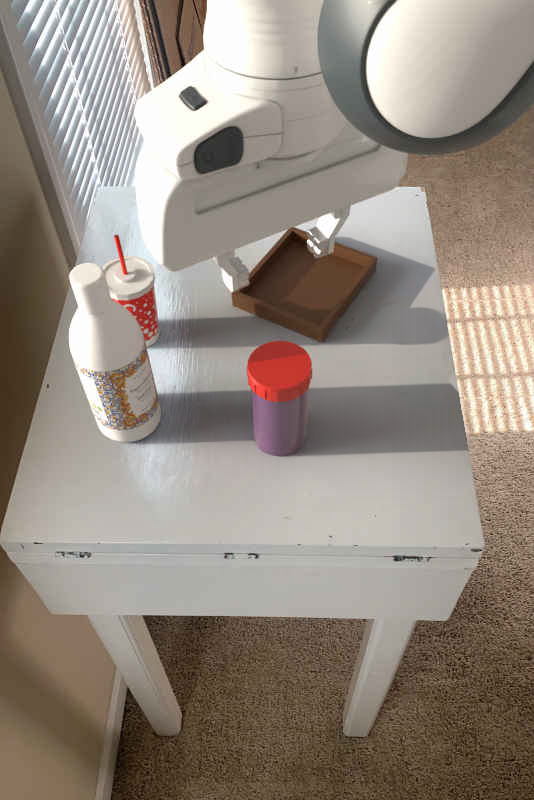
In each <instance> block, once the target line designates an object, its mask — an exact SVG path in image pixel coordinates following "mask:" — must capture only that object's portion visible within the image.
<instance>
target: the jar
mask: <svg viewBox="0 0 534 800" xmlns="http://www.w3.org/2000/svg"><path fill="white" fill-rule="evenodd" d="M250 401H251V416H252V417H251V418H252V431H253V432H252V434H253V435H252V436H253V441H254V443H255V445H256V446H257V448H258V449H260V451H262V452H263V453H265V454H267V455H270V456H274V457H286V456H290V455H293V454H294V453H296V452H297V451H299V450H300V449H301V448H302V447H303V446H304V444H305V442H306V439H307V428H308V427H307V424H308V409H309V408H308V406H309V388H308V389H307V390H306V391H305V392H304V393H303V394H302V396H299V397H298V398H296V399H293V400H291V401H286V402H273V401H269V400H265V399H263V398H261V397H260V396H258V395H257V394H255V393H254V391H253V390H252V389H251V388H250Z"/></svg>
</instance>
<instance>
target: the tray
mask: <svg viewBox="0 0 534 800" xmlns="http://www.w3.org/2000/svg"><path fill="white" fill-rule="evenodd" d="M308 239H309V238H308V237H307V231H306V230H303V229H300V228H298V227H296V226H295V227H293V228H290V229H287V230H285V232H284V233H283V234H282V235H281V237H280V238H279V239H278V240H277V241H276V242H275V243H274V244H273V245H272V247H271V248H270V249H269V250H268V252H267V253H266V254H265V255H264V256H263V257H262V258H261V259H260V261H259V262H258V263H257V264H256V265H255V266H254V267H253V268H252V269H251V270H250V271H249V278H248V280H249V286H247V287H244V288H242V289H239V290H237V291H234V292H230V293H231V304H232V305H231V306H232V307H235V308H236V309H240V310H242V311H244V312H247V313H249V314H252V315H254V316H256V317H258V318H262V319H264V320H266V321H268V322H271V323H273V324H275V325H278V326H281V327H283V328H286V329H289V330H290V331H293V332H295V333H297V334H299V335H303V336H304V337H307V338H310V339H312V340H314V341H316V342H319V343H320V344H321V343H323V342H324V341H325V339H326V338H327V337H328V335H330V333H331V332H332V330H333V328H334V327H335V326H336V325H337V323H338V322H339V321H340V319H341V318H342V316H343V315H344V313H346V311H347V310H348V308H350V306H351V304H352V303H353V301H354V300H355V299H356V298H357V296H358V295H359V293H360V292H361V291H362V290H363V288H364V287H365V286H366V284H367V283H368V282H369V280H370V279H371V277H372V276H373V275H374V273H375V272H376V270H377V265H378V257H377V256H374V255H372V254H369V253H366V252H364V251H361V250H358V249H355V248H352V247H351V246H348V245H345V244H342V243H339V242H336V241H334V251H333V253H330V254H328V255H325V256H323V257H320V258H315V257H314V254H313V253H310V251H309V250H308V247H307V241H308Z"/></svg>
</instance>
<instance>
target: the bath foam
mask: <svg viewBox="0 0 534 800" xmlns="http://www.w3.org/2000/svg"><path fill="white" fill-rule="evenodd" d="M69 281H70V285H71V288H72V291H73V294H74V297H75V300H76V303H77V305H78V307H77V309H76V311H75V313H74V315H73V317H72V320H71V323H70V326H69V331H68V343H69V350H70V354H71V357H72V360H73V362H74V365H75V368H76V370H77V373H78V376H79V379H80V381H81V383H82V387H83V389H84V392H85V394H86V398H87V401H88V403H89V405H90V409H91V411H92V414H93V416H94V418H95V421H96V424H97V426H98V429H99V431H100V432H101V433H102V434H103V435H104V436H105V437H107V438H109V439H110V440H112V441H115V442H120V443H132V442H133V443H134V442H138V441H140V440H142V439H145V438H147V437H148V436H149V435H151V434H152V433H153V432H154V431H155V430H156V428H157V427H158V426H159V424H160V422H161V419H162V408H161V403H160V399H159V394H158V390H157V387H156V382H155V377H154V373H153V368H152V365H151V361H150V357H149V351H148V347H146V343H145V339H144V335H143V332H142V330H141V328H140V325H139V324H138V322H137V320H136V319H135V317H134V316H133V315H132V314H131V313H130V312H129V311H128V310H127V309H126V308H125V307H123V306H122V305H121V304H119V303H118V302H116V301H114V300H113V299H111V295H110V292H109V288H108V284H107V281H106V277H105V273H104V271H103V269H102V266H101V265H99V264H97V263H95V262H82V263H81V264H78V265H76V266H74V267H73V268H72V269H71V271H70V273H69Z"/></svg>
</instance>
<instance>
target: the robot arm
mask: <svg viewBox="0 0 534 800" xmlns="http://www.w3.org/2000/svg"><path fill="white" fill-rule="evenodd" d="M202 36H203V39H202V40H203V50H201V51H200V52H199V53H198V54H197V55H196V56H195V57H194V58H193V59H191V60H190V61H189V62H188V63H187V64H185V65H184V66H183V67H182V68H180V69H179V70H178V71H177V72H175V73H173V74H172V75H171V76H170V77H168V78H167V79H165V80H164V81H163V82H161V83H160V84H158V85H157V86H155V87H154V88H152V89H151V90H149V91H148V92H147V93H146V94H144V95H143V96H142V97H140V98H139V99H138V101H137V102H136V103H135V105H134V119H135V123H136V126H137V128H138V130H139V132H140V134H141V136H142V138H143V139H144V141H145V142H146V143H145V144H144V145H143V147H142V148H141V150H140V152H139V154H138V156H137V160H136V163H135V172H134V173H135V177H134V178H135V180H134V181H135V195H136V197H135V198H136V199H135V200H136V207H137V208H136V209H137V216H138V223H139V229H140V233H141V237H142V240H143V242H144V245H145V246H146V248H147V250H148V251H149V253H150V255H151V256H152V257H153V259H155V261H156V262H157V263H158V264H159V265H160V266H162V267H163V268H165V269H166V270H168V271H170V272H173V273H174V272H175V273H176V272H180V271H181V270H184V269H186V268H190V267H192V266H194V265H197V264H199V263H202V262H205V261H208V260H211V259H213V260H214V261H215V263H216V264H217V265H218V266H219V267H220V268H221V277H222V280H223V282H224V283H223V284H225V286H226V287H227V288H228V290H229V291H230V293H232V292H234V291H237V290H239V289H242V288H244V287H247V286H249V280H248V278H249V273H250V270H249V269H248V267H247V266H246V264H243V261H242V259H240V257H239V256H236V255H235V254H236V253H235V252H236V251H235V250H238V249H239V248H242V247H245V246H247V245H251V244H253V243H255V242H258V241H260V240H263V239H266V238H268V237H272V236H275V235H277V234H280V233H282V232H284V231H285V232H286V231H287V230H288V229H290V228H293V227H295V228H296V227H298V226H300V225H303V224H306V223H308V222H311V221H315V220H317V219H318V221H317V223H316V225H315V226H314V227H311V228H308V229H307V231H306V232H307V237H308V238H309V239H308V241H307V247H308V250H309V251H310V253H313V254H314V257H315V258H320V257H323V256H325V255H328V254H330V253H333V251H334V242H336V240H335V239H336V237H337V235H338V234H339V232H340V231H341V229H342V228H343V225H344V224H345V223H346V222H347V219H348V218H349V217H350V214H351V207H352V206H353V205H356V204H359V203H361V202H365V201H366V200H370V199H372V198H374V197H377V196H380V195H383V194H385V193H388V192H390V191H393V190H394V189H396V188H397V186H398V185H399V184H400V182H401V181H402V179H403V178H404V176H405V174H406V172H407V164H408V155H417V156H442V155H444V156H445V155H450V154H451V155H452V154H457V153H460V152H464V151H466V150H470V149H472V148H475V147H478V146H480V145H482V144H484V143H486V142H488V141H490V140H492V139H493V138H495V137H497V136H498V135H500V134H502V133H503V132H504V131H506V130H507V129H508V128H510V127H511V126H512V125H513V124H514V123H515V122H517V121H518V119H520V118H521V117H522V116H523V115H524V114H525V113H527V111H528V110H529V109H530V108H531V106H533V104H534V0H206V15H205V20H204V26H203V35H202ZM235 256H236V257H235Z"/></svg>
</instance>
